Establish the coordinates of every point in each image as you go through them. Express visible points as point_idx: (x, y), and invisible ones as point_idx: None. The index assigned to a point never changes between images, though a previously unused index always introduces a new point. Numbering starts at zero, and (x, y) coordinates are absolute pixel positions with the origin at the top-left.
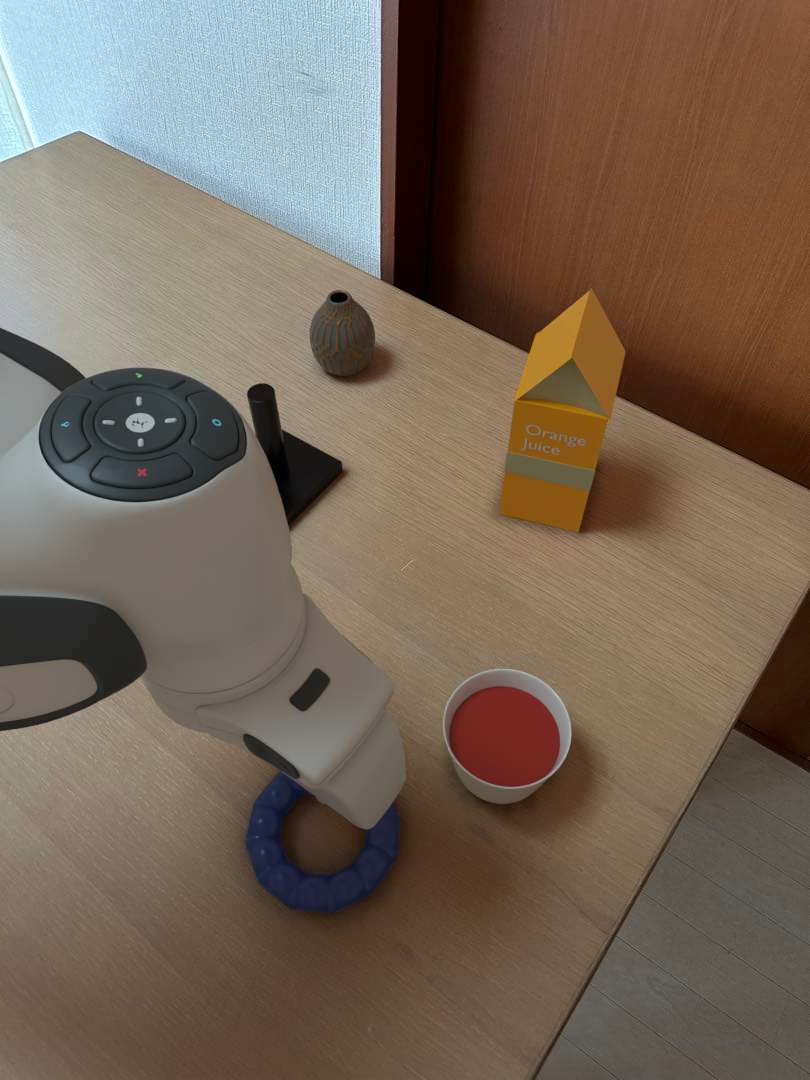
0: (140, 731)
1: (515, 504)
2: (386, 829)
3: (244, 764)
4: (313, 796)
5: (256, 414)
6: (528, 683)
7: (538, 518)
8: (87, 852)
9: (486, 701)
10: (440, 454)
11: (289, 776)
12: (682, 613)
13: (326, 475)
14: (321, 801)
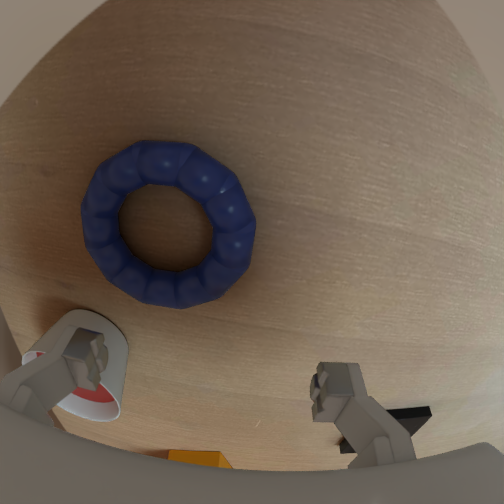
0: (427, 231)
1: (209, 463)
2: (102, 266)
3: (300, 249)
4: (79, 334)
5: None
6: (90, 410)
7: (194, 455)
8: (415, 89)
9: (106, 392)
10: (279, 463)
11: (17, 436)
12: (91, 423)
13: (347, 446)
14: (62, 333)
